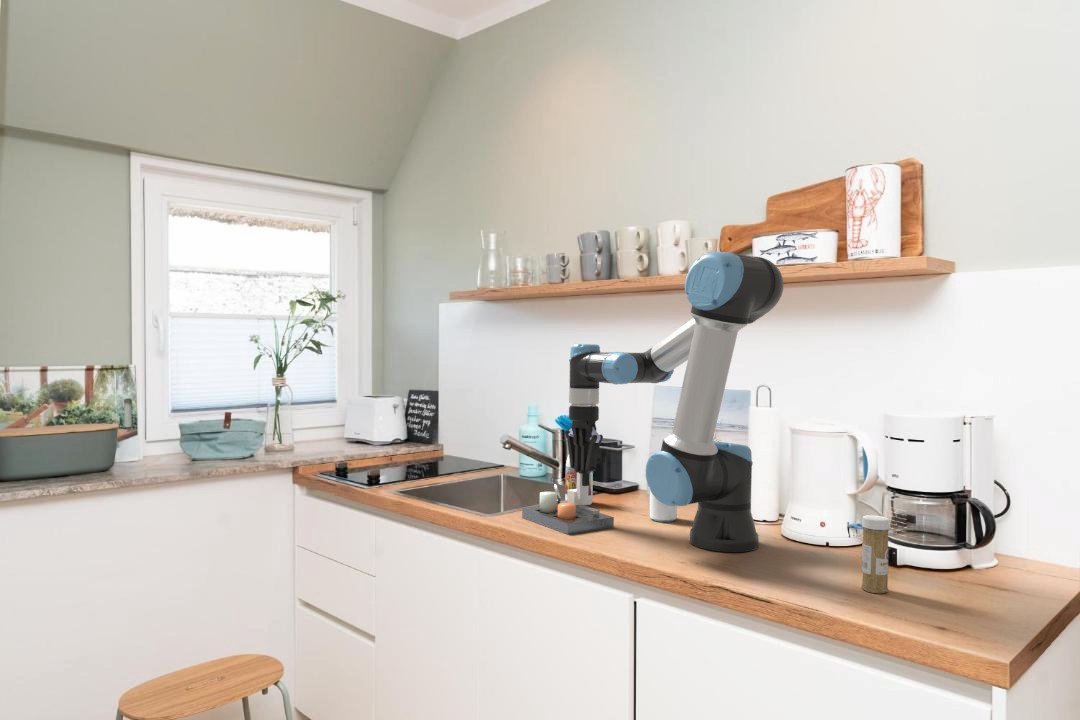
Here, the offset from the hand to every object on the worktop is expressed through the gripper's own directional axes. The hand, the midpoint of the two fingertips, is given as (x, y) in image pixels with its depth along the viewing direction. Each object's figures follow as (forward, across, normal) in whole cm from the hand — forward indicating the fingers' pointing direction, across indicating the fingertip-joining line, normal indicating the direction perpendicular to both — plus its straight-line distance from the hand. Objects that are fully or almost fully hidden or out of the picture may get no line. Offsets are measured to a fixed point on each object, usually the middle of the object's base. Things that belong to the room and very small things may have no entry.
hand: (582, 498), depth 183 cm
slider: (+2, +2, 0) cm, 3 cm away
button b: (+4, +6, +7) cm, 9 cm away
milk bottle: (+6, +19, -13) cm, 24 cm away
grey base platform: (+6, +2, +4) cm, 7 cm away
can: (+6, -8, -20) cm, 23 cm away
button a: (+5, -2, +6) cm, 9 cm away
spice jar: (+6, -70, -14) cm, 72 cm away
